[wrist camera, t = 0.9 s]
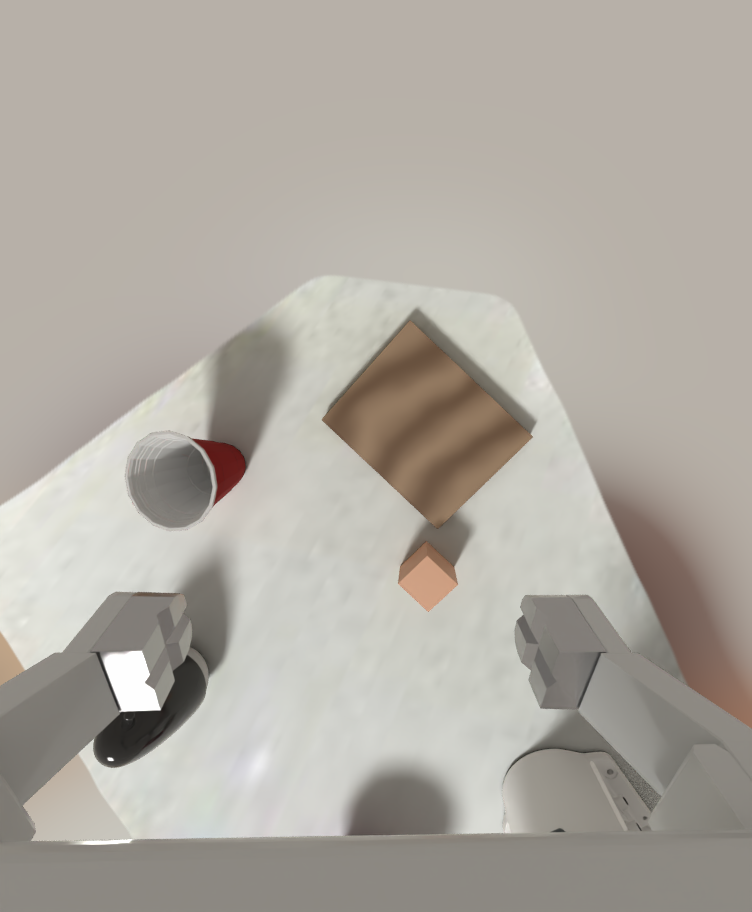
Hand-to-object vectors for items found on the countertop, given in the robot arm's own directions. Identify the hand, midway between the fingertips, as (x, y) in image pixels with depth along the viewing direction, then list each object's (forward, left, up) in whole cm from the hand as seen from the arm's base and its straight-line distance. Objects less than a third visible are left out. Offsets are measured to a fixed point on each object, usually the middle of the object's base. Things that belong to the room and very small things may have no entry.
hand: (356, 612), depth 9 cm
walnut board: (0, -3, -40) cm, 40 cm away
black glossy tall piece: (+1, +46, -40) cm, 61 cm away
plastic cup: (+16, +19, -40) cm, 47 cm away
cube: (-13, +10, -40) cm, 43 cm away
